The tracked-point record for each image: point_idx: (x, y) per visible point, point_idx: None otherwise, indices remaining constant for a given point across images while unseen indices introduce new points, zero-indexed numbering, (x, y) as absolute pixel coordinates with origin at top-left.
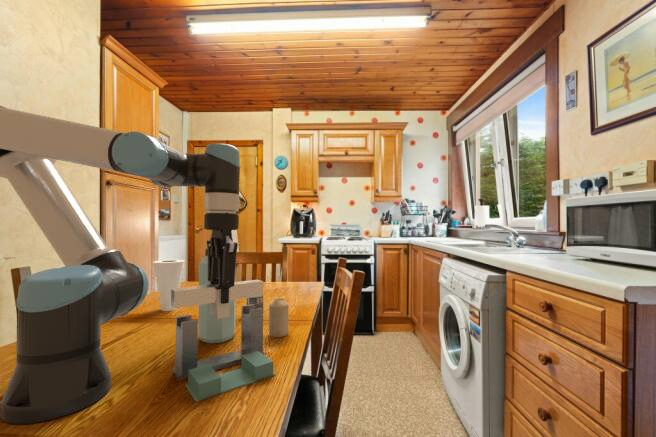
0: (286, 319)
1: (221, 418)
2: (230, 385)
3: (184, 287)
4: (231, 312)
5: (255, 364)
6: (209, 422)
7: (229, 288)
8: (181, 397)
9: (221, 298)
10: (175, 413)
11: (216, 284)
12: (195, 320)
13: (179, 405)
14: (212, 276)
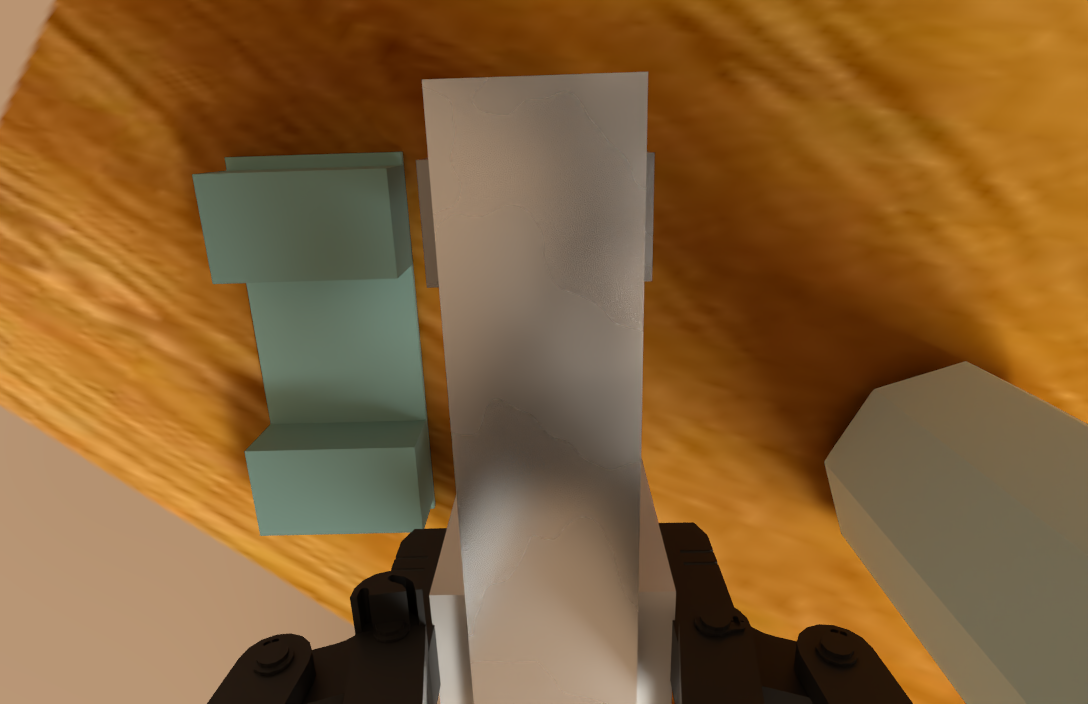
0: None
1: (55, 211)
2: (280, 321)
3: (635, 268)
4: (908, 613)
5: (269, 460)
6: (47, 163)
7: (440, 701)
8: (303, 111)
9: (426, 558)
10: (176, 58)
11: (606, 646)
12: (433, 271)
13: (235, 88)
14: (680, 699)
